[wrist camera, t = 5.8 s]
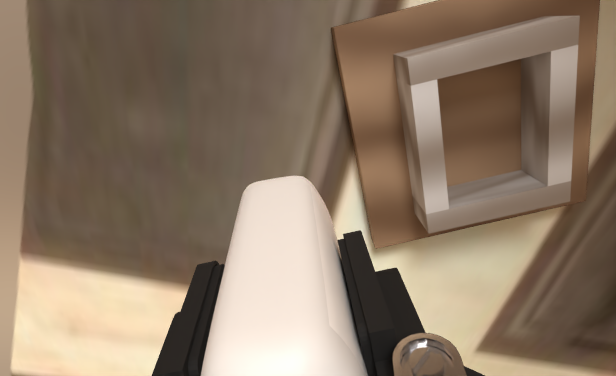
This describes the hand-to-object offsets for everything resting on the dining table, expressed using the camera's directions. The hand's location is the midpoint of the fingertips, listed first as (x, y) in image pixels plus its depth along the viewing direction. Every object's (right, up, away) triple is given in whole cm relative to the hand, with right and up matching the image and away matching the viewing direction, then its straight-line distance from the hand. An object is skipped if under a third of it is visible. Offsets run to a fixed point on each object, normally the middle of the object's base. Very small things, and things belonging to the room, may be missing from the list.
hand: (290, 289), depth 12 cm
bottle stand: (+12, +8, +16) cm, 21 cm away
